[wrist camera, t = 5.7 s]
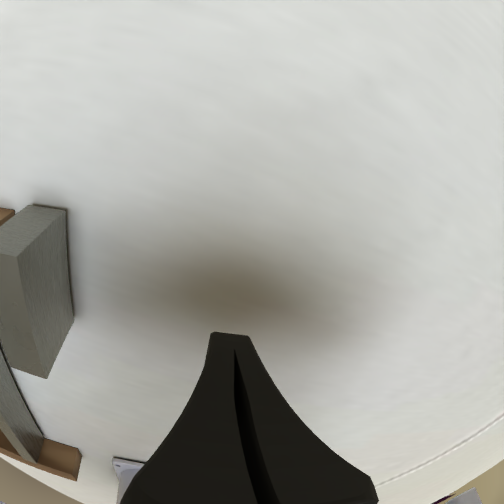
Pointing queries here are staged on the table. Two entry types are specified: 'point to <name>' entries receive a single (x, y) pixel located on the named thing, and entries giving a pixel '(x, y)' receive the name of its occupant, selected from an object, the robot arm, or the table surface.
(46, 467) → the walnut holder
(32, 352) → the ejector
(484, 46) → the table surface
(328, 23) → the table surface
